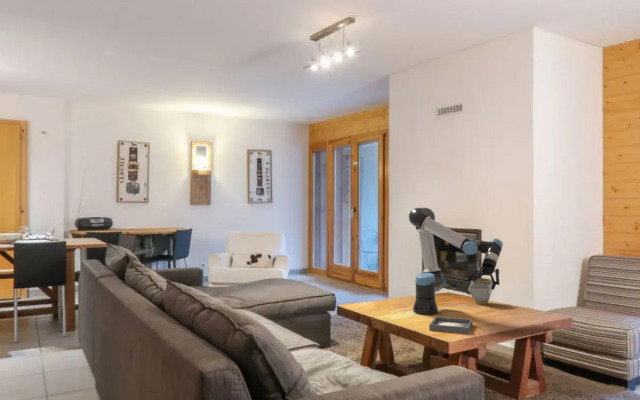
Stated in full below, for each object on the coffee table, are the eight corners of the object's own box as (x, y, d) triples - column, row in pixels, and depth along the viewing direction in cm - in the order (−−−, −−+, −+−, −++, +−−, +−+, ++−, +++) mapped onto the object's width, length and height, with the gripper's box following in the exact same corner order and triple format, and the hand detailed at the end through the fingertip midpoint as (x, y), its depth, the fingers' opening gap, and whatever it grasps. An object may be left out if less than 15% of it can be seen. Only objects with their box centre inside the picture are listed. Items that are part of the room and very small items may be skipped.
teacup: (491, 302, 273) (491, 287, 273) (470, 301, 275) (470, 286, 275) (488, 297, 287) (488, 283, 286) (469, 296, 289) (469, 282, 289)
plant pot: (480, 306, 321) (480, 281, 321) (465, 302, 334) (465, 278, 334) (498, 304, 327) (498, 280, 327) (482, 300, 340) (482, 277, 340)
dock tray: (429, 330, 262) (429, 324, 262) (435, 321, 280) (435, 316, 280) (468, 333, 254) (468, 327, 254) (472, 324, 272) (472, 319, 272)
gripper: (511, 267, 284) (501, 298, 273) (473, 264, 300) (461, 293, 288) (508, 259, 280) (497, 290, 269) (469, 256, 296) (457, 285, 284)
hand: (479, 292), depth 278 cm, fingers closed on teacup, 11 cm apart
